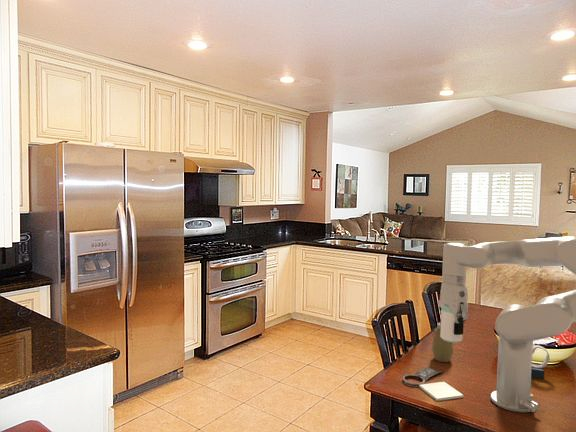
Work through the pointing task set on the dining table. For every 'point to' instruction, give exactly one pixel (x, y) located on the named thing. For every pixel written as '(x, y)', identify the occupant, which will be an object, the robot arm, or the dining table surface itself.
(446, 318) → the can
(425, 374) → the keychain
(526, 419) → the dining table surface
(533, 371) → the watch
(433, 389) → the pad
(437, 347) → the squeeze bottle
